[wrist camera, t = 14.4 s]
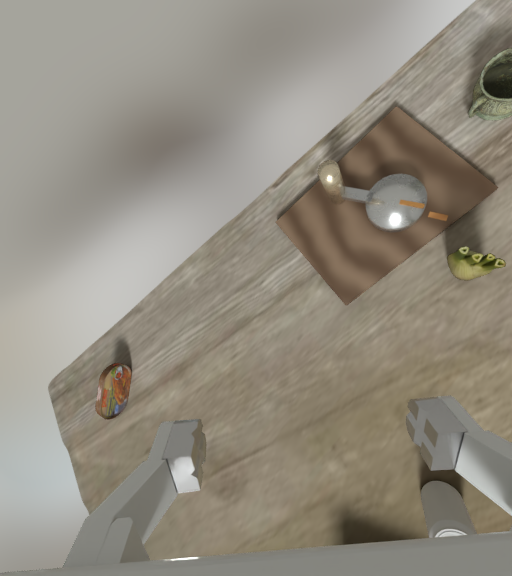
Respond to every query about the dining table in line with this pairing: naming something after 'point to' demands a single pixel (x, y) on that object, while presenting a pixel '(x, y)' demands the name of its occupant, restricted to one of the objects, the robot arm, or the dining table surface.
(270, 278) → the dining table surface
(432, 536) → the beverage can
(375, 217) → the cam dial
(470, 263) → the fennel bulb
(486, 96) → the vessel
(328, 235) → the base board
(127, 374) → the tin
